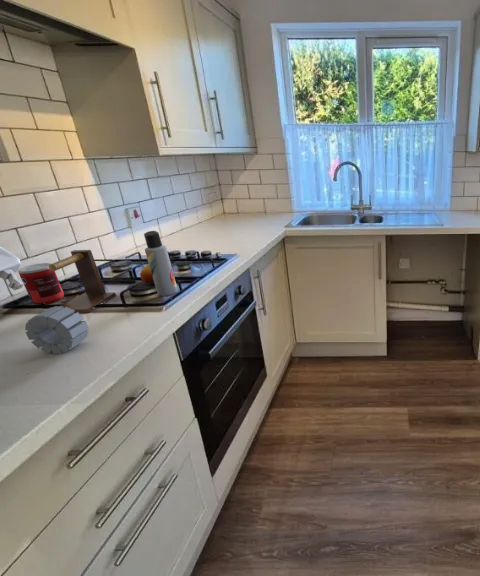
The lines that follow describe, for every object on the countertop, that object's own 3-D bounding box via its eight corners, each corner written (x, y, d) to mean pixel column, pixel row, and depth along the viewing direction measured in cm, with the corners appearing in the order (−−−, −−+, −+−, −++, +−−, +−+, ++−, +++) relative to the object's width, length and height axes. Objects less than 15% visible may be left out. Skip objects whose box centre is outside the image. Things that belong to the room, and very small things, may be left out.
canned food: (42, 296, 116) (28, 264, 112) (70, 293, 117) (57, 261, 113) (25, 306, 109) (10, 272, 105) (55, 303, 110) (41, 270, 106)
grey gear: (36, 354, 84) (17, 316, 80) (53, 343, 89) (37, 306, 85) (78, 353, 84) (62, 315, 80) (94, 342, 89) (79, 305, 85)
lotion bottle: (179, 288, 119) (163, 228, 112) (176, 294, 115) (159, 233, 107) (159, 291, 118) (142, 230, 110) (156, 297, 113) (137, 235, 105)
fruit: (162, 283, 120) (145, 263, 118) (147, 293, 123) (131, 274, 121) (178, 274, 127) (163, 255, 125) (164, 284, 130) (149, 266, 128)
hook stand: (53, 313, 104) (31, 262, 98) (85, 296, 115) (67, 249, 109) (88, 312, 104) (68, 262, 98) (116, 295, 115) (100, 249, 109)
